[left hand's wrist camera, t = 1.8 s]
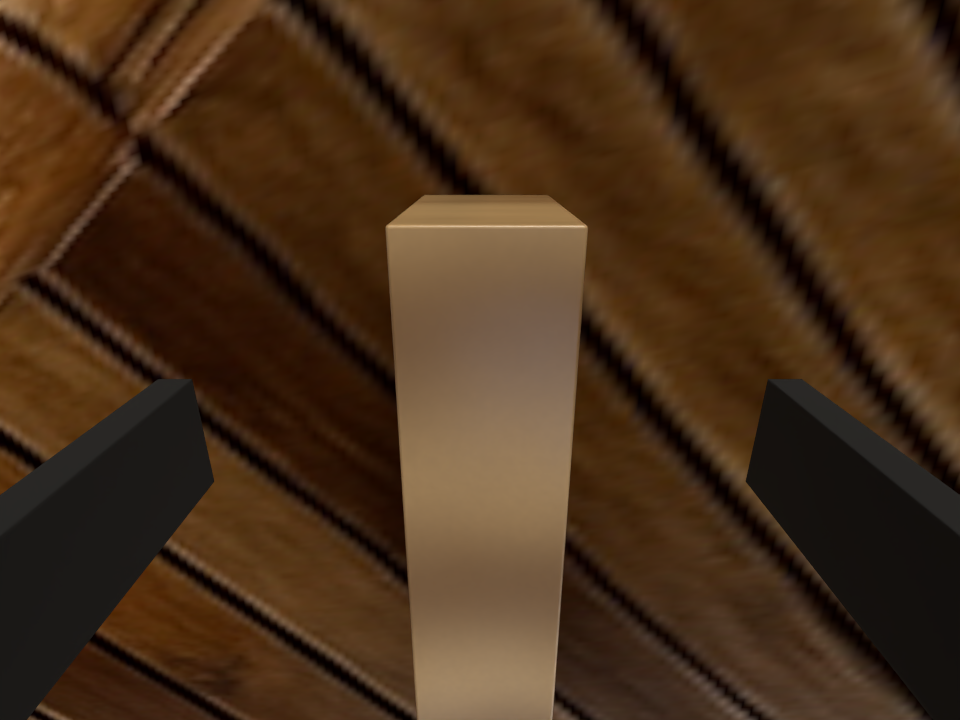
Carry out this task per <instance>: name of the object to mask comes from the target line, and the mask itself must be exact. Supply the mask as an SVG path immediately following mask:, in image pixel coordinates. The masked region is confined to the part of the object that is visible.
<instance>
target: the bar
mask: <svg viewBox="0 0 960 720" xmlns="http://www.w3.org/2000/svg"><path fill="white" fill-rule="evenodd" d="M385 229H386V245H387V261H388V276H389V292H390V308H391V323H392V339H393V354H394V370H395V386H396V401H397V417H398V433H399V448H400V464H401V479H402V495H403V511H404V526H405V542H406V558H407V573H408V589H409V604H410V620H411V636H412V651H413V667H414V682H415V698H416V714H417V720H552V718H553V705H554V691H555V677H556V663H557V649H558V635H559V621H560V608H561V594H562V580H563V566H564V552H565V538H566V524H567V511H568V497H569V483H570V469H571V455H572V441H573V427H574V413H575V400H576V386H577V372H578V358H579V344H580V330H581V316H582V303H583V289H584V275H585V261H586V247H587V233H588V228H587V226H586V225H585V224H584V223H583V222H581V221H580V220H579V219H578V218H576V217H575V216H574V215H572V214H571V213H570V212H569V211H567V210H566V209H565V208H564V207H562V206H561V205H560V204H558V203H557V202H556V201H555V200H553V199H552V198H551V197H549V196H548V195H424V196H423V197H421V198H420V199H419V200H418V201H416V202H415V203H414V204H413V205H411V206H410V207H409V208H408V209H406V210H405V211H404V212H403V213H401V214H400V215H399V216H398V217H397V218H395V219H394V220H393V221H392V222H390V223H389V224H388V225H387V226H386V228H385Z"/></svg>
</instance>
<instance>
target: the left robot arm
mask: <svg viewBox="0 0 960 720" xmlns="http://www.w3.org/2000/svg"><path fill="white" fill-rule="evenodd" d="M213 482H214V478H213V474H212V469H211V464H210V460H209V455H208V451H207V446H206V441H205V437H204V432H203V428H202V423H201V419H200V414H199V409H198V405H197V400H196V396H195V391H194V386H193V382H192V379H158V380H157V381H155V382H154V383H153V384H151V385H150V386H149V387H147V388H146V389H144V390H143V391H142V392H140V393H139V394H138V395H136V396H135V397H134V398H132V399H131V400H129V401H128V402H127V403H125V404H124V405H123V406H121V407H120V408H118V409H117V410H116V411H114V412H113V413H112V414H110V415H109V416H108V417H106V418H105V419H103V420H102V421H101V422H99V423H98V424H97V425H95V426H94V427H93V428H91V429H90V430H88V431H87V432H86V433H84V434H83V435H82V436H80V437H79V438H78V439H76V440H75V441H73V442H72V443H71V444H69V445H68V446H67V447H65V448H64V449H63V450H61V451H60V452H58V453H57V454H56V455H54V456H53V457H52V458H50V459H49V460H48V461H46V462H45V463H43V464H42V465H41V466H39V467H38V468H37V469H35V470H34V471H33V472H31V473H30V474H28V475H27V476H26V477H24V478H23V479H22V480H20V481H19V482H18V483H16V484H15V485H13V486H12V487H11V488H9V489H8V490H7V491H5V492H4V493H3V494H1V495H0V720H27V719H28V717H29V716H30V715H31V714H32V712H33V711H34V710H35V709H36V707H37V706H38V705H39V704H40V702H41V701H42V700H43V698H44V697H45V696H46V695H47V693H48V692H49V691H50V690H51V688H52V687H53V686H54V684H55V683H56V682H57V681H58V679H59V678H60V677H61V676H62V674H63V673H64V672H65V670H66V669H67V668H68V667H69V665H70V664H71V663H72V662H73V660H74V659H75V658H76V656H77V655H78V654H79V653H80V651H81V650H82V649H83V648H84V646H85V645H86V644H87V642H88V641H89V640H90V639H91V637H92V636H93V635H94V634H95V632H96V631H97V630H98V629H99V627H100V626H101V625H102V623H103V622H104V621H105V620H106V618H107V617H108V616H109V615H110V613H111V612H112V611H113V609H114V608H115V607H116V606H117V604H118V603H119V602H120V601H121V599H122V598H123V597H124V595H125V594H126V593H127V592H128V590H129V589H130V588H131V587H132V585H133V584H134V583H135V581H136V580H137V579H138V578H139V576H140V575H141V574H142V573H143V571H144V570H145V569H146V567H147V566H148V565H149V564H150V562H151V561H152V560H153V559H154V557H155V556H156V555H157V554H158V552H159V551H160V550H161V548H162V547H163V546H164V545H165V543H166V542H167V541H168V540H169V538H170V537H171V536H172V534H173V533H174V532H175V531H176V529H177V528H178V527H179V526H180V524H181V523H182V522H183V520H184V519H185V518H186V517H187V515H188V514H189V513H190V512H191V510H192V509H193V508H194V506H195V505H196V504H197V503H198V501H199V500H200V499H201V498H202V496H203V495H204V494H205V493H206V491H207V490H208V489H209V487H210V486H211V485H212V484H213ZM746 482H747V484H748V485H749V486H750V487H751V489H752V490H753V491H754V493H755V494H756V495H757V496H758V498H759V499H760V500H761V501H762V503H763V504H764V505H765V506H766V508H767V509H768V510H769V512H770V513H771V514H772V515H773V517H774V518H775V519H776V520H777V522H778V523H779V524H780V526H781V527H782V528H783V529H784V531H785V532H786V533H787V534H788V536H789V537H790V538H791V540H792V541H793V542H794V543H795V545H796V546H797V547H798V548H799V550H800V551H801V552H802V554H803V555H804V556H805V557H806V559H807V560H808V561H809V562H810V564H811V565H812V566H813V568H814V569H815V570H816V571H817V573H818V574H819V575H820V576H821V578H822V579H823V580H824V581H825V583H826V584H827V585H828V587H829V588H830V589H831V590H832V592H833V593H834V594H835V595H836V597H837V598H838V599H839V601H840V602H841V603H842V604H843V606H844V607H845V608H846V609H847V611H848V612H849V613H850V615H851V616H852V617H853V618H854V620H855V621H856V622H857V623H858V625H859V626H860V627H861V629H862V630H863V631H864V632H865V634H866V635H867V636H868V637H869V639H870V640H871V641H872V642H873V644H874V645H875V646H876V648H877V649H878V650H879V651H880V653H881V654H882V655H883V656H884V658H885V659H886V660H887V662H888V663H889V664H890V665H891V667H892V668H893V669H894V670H895V672H896V673H897V674H898V676H899V677H900V678H901V679H902V681H903V682H904V683H905V684H906V686H907V687H908V688H909V690H910V691H911V692H912V693H913V695H914V696H915V697H916V698H917V700H918V701H919V702H920V704H921V705H922V706H923V707H924V709H925V710H926V711H927V712H928V714H929V715H930V716H931V717H932V719H933V720H960V494H957V493H956V492H955V491H953V490H952V489H951V488H949V487H948V486H947V485H945V484H944V483H942V482H941V481H940V480H938V479H937V478H936V477H934V476H933V475H932V474H930V473H929V472H927V471H926V470H925V469H923V468H922V467H921V466H919V465H918V464H917V463H915V462H914V461H912V460H911V459H910V458H908V457H907V456H906V455H904V454H903V453H902V452H900V451H899V450H897V449H896V448H895V447H893V446H892V445H891V444H889V443H888V442H887V441H885V440H884V439H882V438H881V437H880V436H878V435H877V434H876V433H874V432H873V431H872V430H870V429H869V428H867V427H866V426H865V425H863V424H862V423H861V422H859V421H858V420H857V419H855V418H854V417H852V416H851V415H850V414H848V413H847V412H846V411H844V410H843V409H842V408H840V407H839V406H837V405H836V404H835V403H833V402H832V401H831V400H829V399H828V398H826V397H825V396H824V395H822V394H821V393H820V392H818V391H817V390H816V389H814V388H813V387H811V386H810V385H809V384H807V383H806V382H805V381H803V380H802V379H768V382H767V386H766V391H765V396H764V400H763V405H762V409H761V414H760V419H759V423H758V428H757V432H756V437H755V441H754V446H753V451H752V455H751V460H750V464H749V469H748V474H747V478H746Z"/></svg>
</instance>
